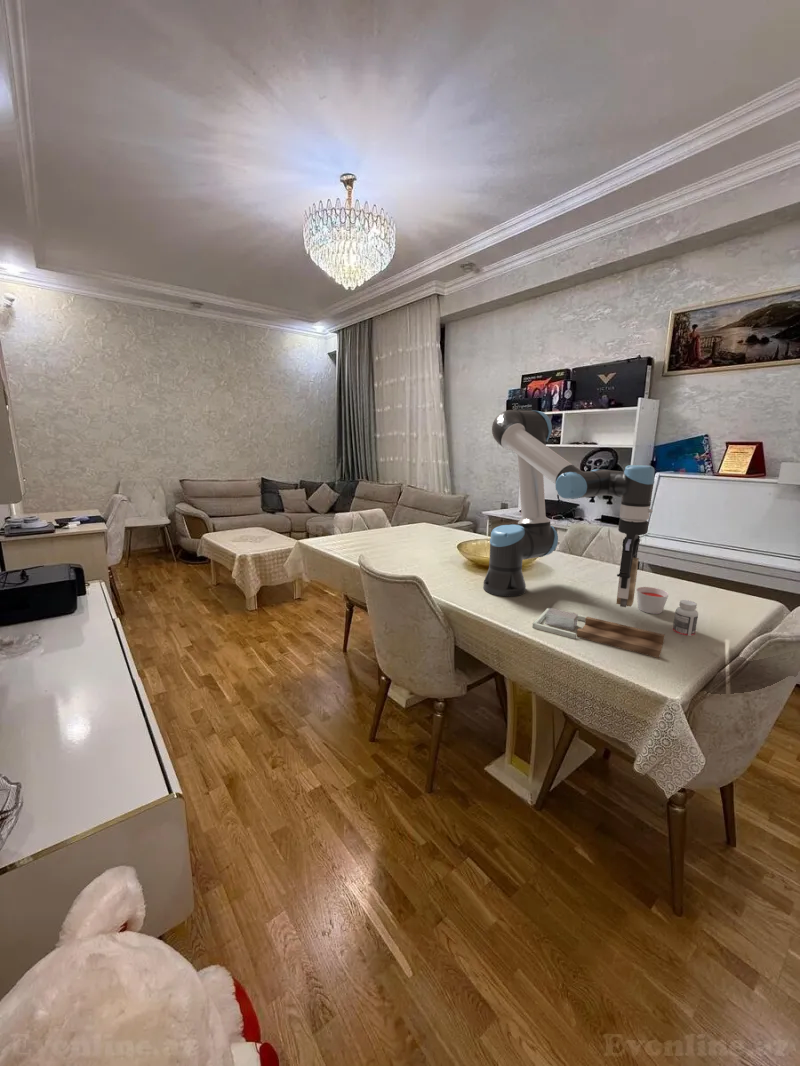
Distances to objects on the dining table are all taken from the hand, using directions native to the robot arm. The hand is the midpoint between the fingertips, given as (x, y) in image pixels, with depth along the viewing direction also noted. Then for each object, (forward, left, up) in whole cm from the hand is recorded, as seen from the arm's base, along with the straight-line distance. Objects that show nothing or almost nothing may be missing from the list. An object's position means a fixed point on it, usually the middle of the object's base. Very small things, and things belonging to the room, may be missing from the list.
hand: (625, 593), depth 130 cm
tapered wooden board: (0, 0, -3) cm, 3 cm away
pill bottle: (+16, +1, -9) cm, 18 cm away
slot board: (+2, -15, -9) cm, 18 cm away
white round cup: (+6, +15, -9) cm, 19 cm away
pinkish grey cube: (-12, -15, -8) cm, 21 cm away
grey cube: (-16, -15, -8) cm, 23 cm away
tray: (-14, -15, -9) cm, 22 cm away
